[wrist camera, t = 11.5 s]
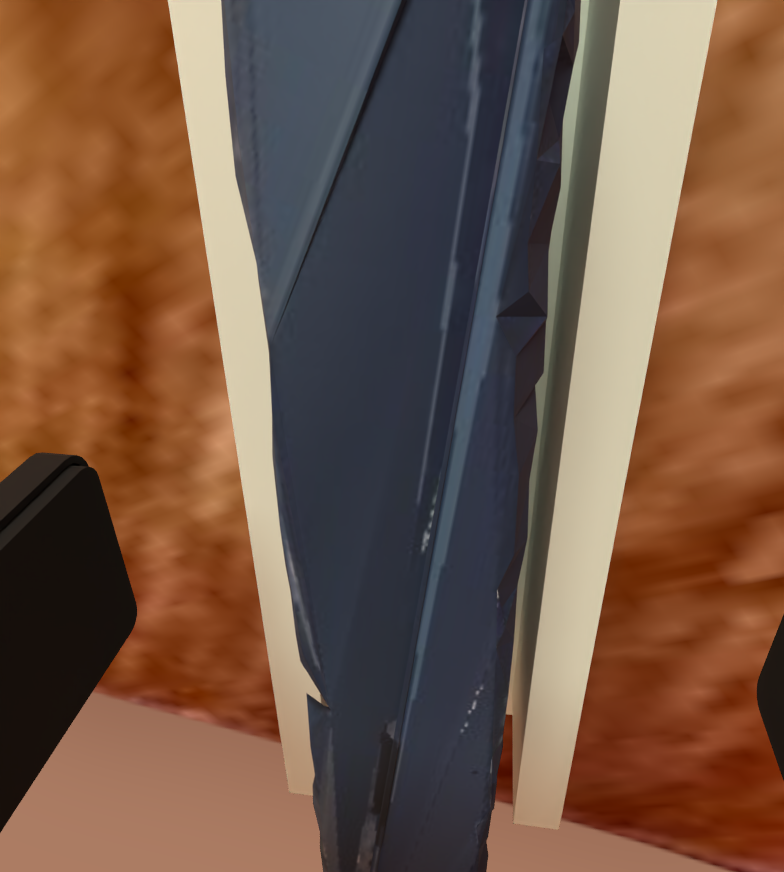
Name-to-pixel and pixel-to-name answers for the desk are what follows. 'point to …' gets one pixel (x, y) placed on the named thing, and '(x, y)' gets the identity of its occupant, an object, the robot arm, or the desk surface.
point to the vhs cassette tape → (402, 380)
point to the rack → (563, 364)
